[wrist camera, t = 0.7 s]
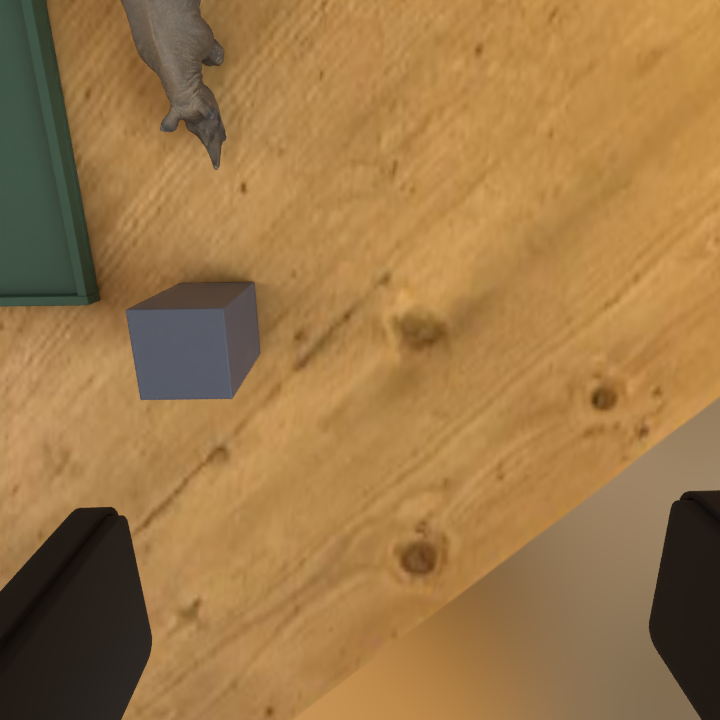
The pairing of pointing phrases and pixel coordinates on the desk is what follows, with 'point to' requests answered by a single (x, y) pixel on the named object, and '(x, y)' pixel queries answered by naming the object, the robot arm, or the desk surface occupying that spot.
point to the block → (195, 340)
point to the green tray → (38, 171)
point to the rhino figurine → (180, 64)
